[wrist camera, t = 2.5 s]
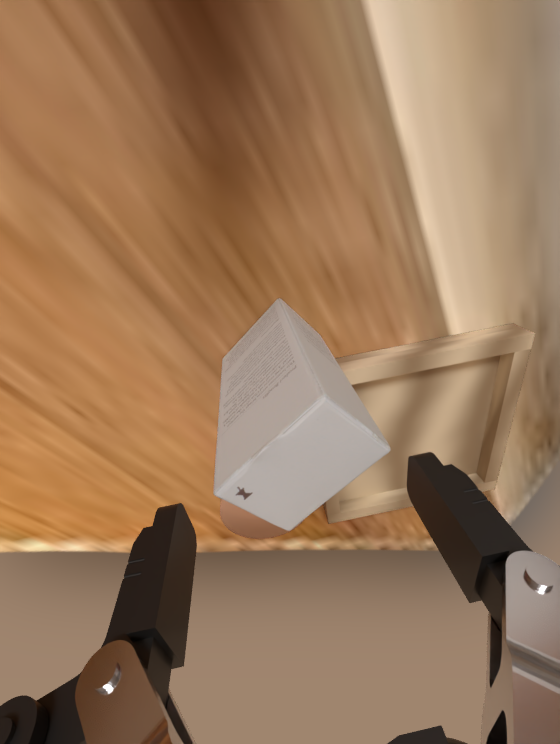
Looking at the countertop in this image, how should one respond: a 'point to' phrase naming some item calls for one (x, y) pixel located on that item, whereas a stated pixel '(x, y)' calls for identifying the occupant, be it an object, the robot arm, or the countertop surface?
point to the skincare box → (288, 422)
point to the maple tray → (435, 411)
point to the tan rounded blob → (248, 523)
